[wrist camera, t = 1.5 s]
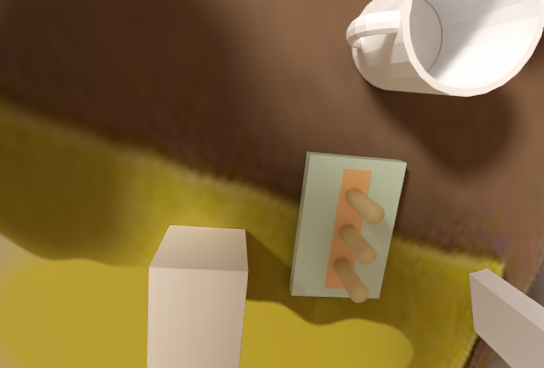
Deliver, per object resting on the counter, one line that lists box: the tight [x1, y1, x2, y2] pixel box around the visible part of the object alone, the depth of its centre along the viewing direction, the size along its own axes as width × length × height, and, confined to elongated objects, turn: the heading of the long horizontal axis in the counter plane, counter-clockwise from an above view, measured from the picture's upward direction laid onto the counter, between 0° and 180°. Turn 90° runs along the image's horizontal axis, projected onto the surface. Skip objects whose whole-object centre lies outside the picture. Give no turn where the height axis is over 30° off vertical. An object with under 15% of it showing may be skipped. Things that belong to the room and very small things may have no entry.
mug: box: [346, 0, 544, 97], centre depth 25 cm, size 11×9×10 cm
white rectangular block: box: [147, 225, 248, 368], centre depth 30 cm, size 14×7×8 cm, turn 174°
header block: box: [289, 152, 407, 303], centre depth 30 cm, size 9×14×6 cm, turn 174°
